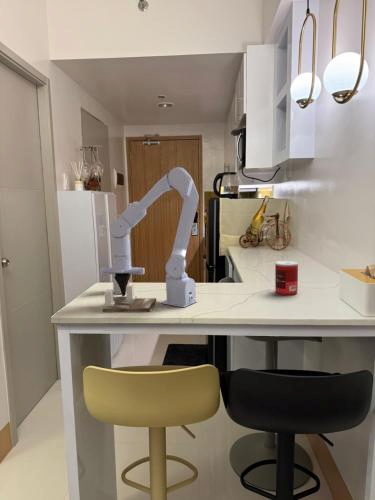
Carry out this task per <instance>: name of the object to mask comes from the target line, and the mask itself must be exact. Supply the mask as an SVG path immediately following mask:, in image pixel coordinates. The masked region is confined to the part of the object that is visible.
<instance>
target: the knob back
mask: <svg viewBox="0 0 375 500" xmlns="http://www.w3.org/2000/svg"><path fill="white" fill-rule="evenodd" d="M134 285H135V284H129V285H127V286H126V296H127V297H126V298H125V299H126V300H135V299H136V295H135V286H134Z"/></svg>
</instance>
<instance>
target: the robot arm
mask: <svg viewBox="0 0 375 500" xmlns="http://www.w3.org/2000/svg"><path fill="white" fill-rule="evenodd" d="M173 188H174V189H176V190H177V191H178V193H179V195H180V197H182V199H183V203H182V207H181V208H182V209H181V211H180V217H179V221H178V225H177V228H176V229H177V230H176V234H175V239H174V244H173V248H172V252H171V254H170V257H169V258H168V260H167V262H166V264H165V268H164V269H165V272H166V274H165V289H166V291H165V292H166V293H165V294H166V300H163V301H161V302H160V303H161V304H162V305H163V304H164V305H168V306H174V307H180V308H186V307H188V306H191V305H192V304H195V303H196V302H198V300H197V298H196V297H197V295H196V281H195V279H193V278H190V277H189V276H188V273H186V266H187V260H186V255H187V249H188V246H189V242H190V238H191V233H192V229H193V225H194V219H195V217H196V212H197V208H198V203H199V199H200V195H199V193H198V189H197V188H196V185H195V182H194V180H193V178H192V176H191V175H190V173H189V172H188V171H187V170H186V169H185V168H184V167H180V166H178V167H173V168H172V169H170V171H169V172H168V173H166V174H165V175H163V176H162V177H161V179H159V180H158V181H156V183H155V184H154V185H153V187H152V188H151V189H150V190H149V191H148V192H147V193H146V194H145V195H144V196H143V197H142V198H141V199H140V200H139V201H133V202H132V203H128V204H127V208H126V209H125V210H124V211H123V212H122V213H121V214H118V215H117V218H118V219H114V220H112V221H111V223H110V225H109V233H110V234H111V239H112V242H111V243H112V245H111V247H112V260H113V262H112V263H113V264H114V268H112V267H102V268H100V270H99V271H100V275H101V276H105V275H113V274H115V277H114V278H115V280H116V281H117V283H118V285H119V287H120V290H121V293H122V294H121V296H127V294H126V286H127V284H128V281H129V282H130V278H131V276H132V275H145V267H137V266H136V267H134V266H132V260H131V257H132V255H131V241H130V233H131V230H132V229H133V228H134V227H135V226H137V224H138V223H140V222H141V220H142V219H143V218H144V217H145V216H146V215H147V209H148V208H149V206H151V205H152V204H153V203H154V202H155V201H156V200H157V199H159V198H160V196H162V195H163V193H165V192H168V191H171V190H173Z"/></svg>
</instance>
